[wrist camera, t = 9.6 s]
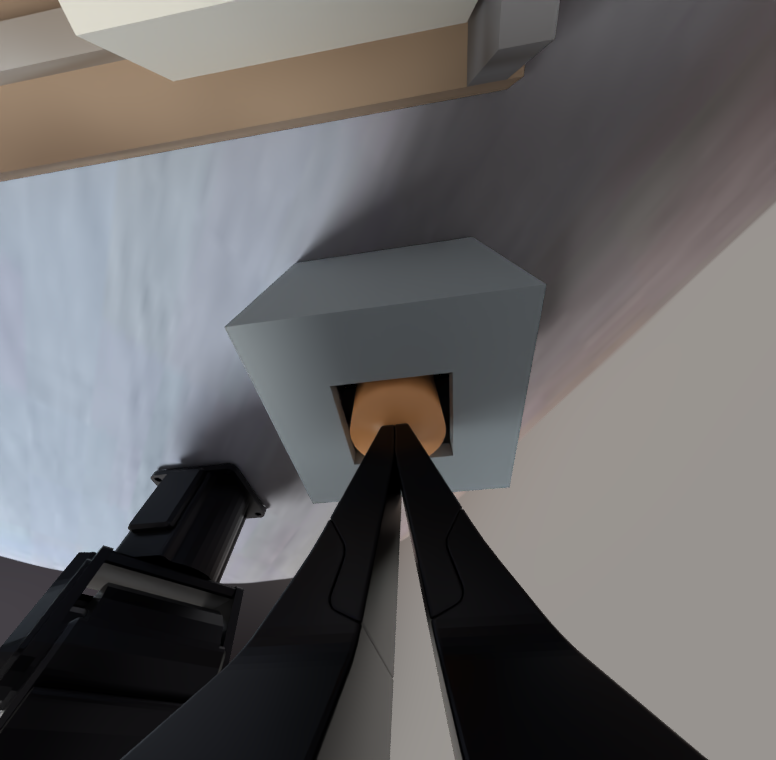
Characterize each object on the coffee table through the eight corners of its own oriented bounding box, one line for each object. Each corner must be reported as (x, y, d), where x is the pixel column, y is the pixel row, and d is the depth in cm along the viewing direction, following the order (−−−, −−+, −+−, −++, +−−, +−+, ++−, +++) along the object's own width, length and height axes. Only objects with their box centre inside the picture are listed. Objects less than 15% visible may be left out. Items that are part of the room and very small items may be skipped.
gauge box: (467, 384, 17) (509, 487, 11) (336, 398, 18) (313, 503, 12) (472, 237, 12) (546, 284, 7) (295, 262, 13) (224, 326, 7)
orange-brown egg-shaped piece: (432, 395, 13) (446, 460, 10) (365, 402, 13) (359, 468, 10) (429, 334, 11) (445, 390, 8) (352, 343, 11) (340, 401, 8)
